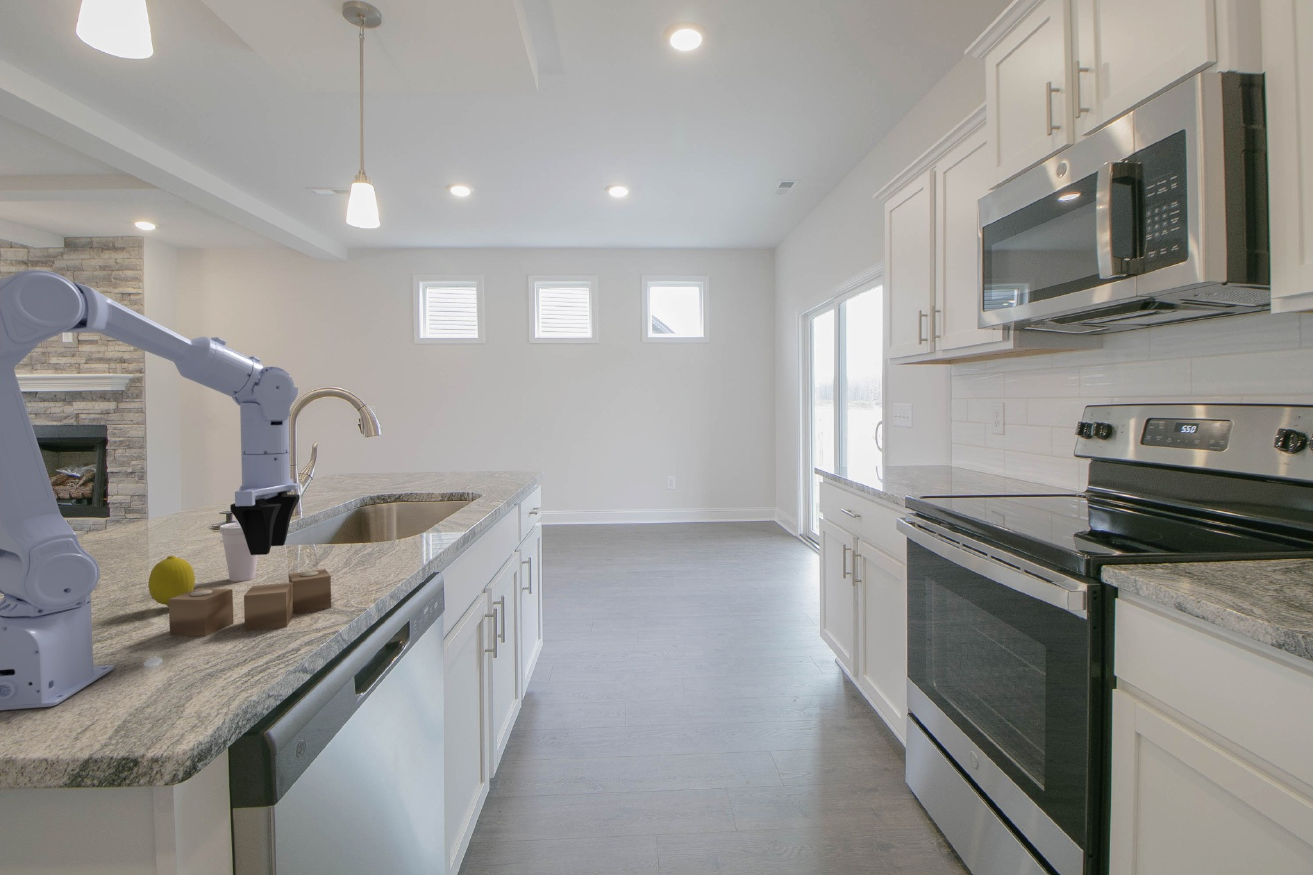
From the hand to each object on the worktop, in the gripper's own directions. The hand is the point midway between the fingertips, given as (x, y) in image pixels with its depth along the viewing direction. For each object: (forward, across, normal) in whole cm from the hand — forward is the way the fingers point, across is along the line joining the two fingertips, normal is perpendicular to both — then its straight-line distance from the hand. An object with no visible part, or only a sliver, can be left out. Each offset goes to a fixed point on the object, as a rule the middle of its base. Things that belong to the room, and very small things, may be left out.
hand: (268, 549), depth 88 cm
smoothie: (+11, +26, +14) cm, 31 cm away
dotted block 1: (+10, -1, +8) cm, 13 cm away
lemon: (+11, +10, +17) cm, 22 cm away
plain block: (+10, 0, 0) cm, 10 cm away
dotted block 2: (+10, +7, -3) cm, 13 cm away
